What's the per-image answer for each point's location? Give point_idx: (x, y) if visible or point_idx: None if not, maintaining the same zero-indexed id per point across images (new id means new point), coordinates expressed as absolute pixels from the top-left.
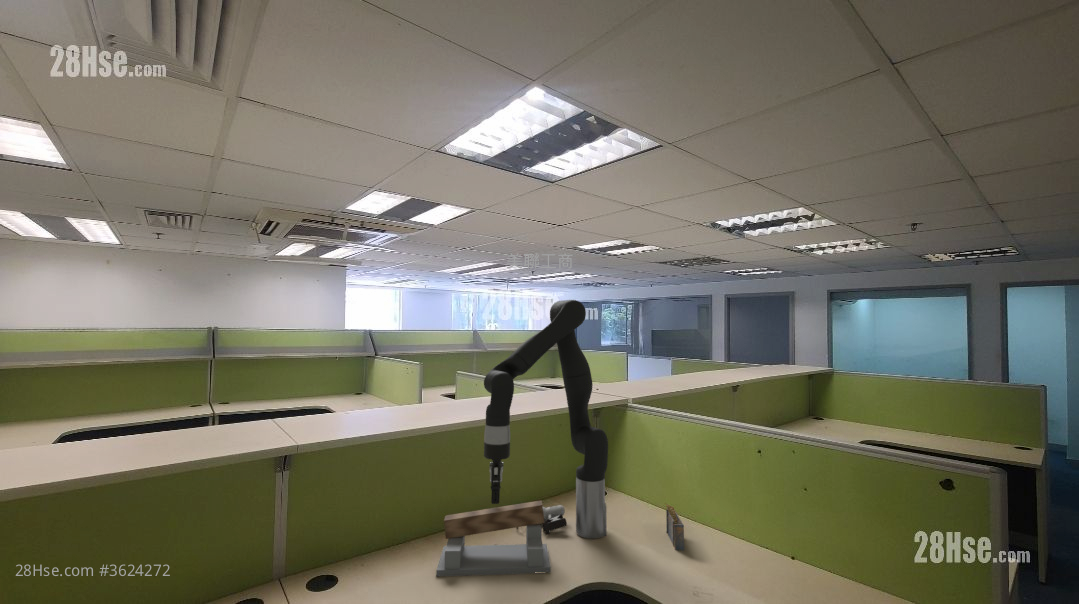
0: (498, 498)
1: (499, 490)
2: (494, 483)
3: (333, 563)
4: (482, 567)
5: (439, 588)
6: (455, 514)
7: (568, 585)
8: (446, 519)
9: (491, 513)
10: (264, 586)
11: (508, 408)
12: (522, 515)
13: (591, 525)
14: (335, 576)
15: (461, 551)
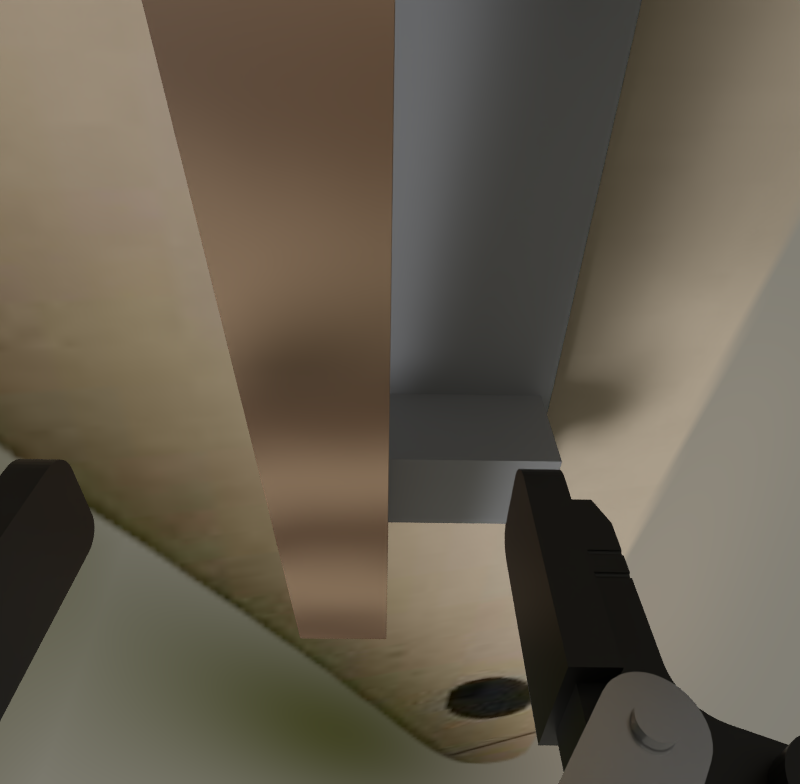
0: (574, 533)
1: (618, 659)
2: (12, 652)
3: (382, 702)
4: (558, 283)
5: (630, 441)
6: (302, 606)
7: None
8: (374, 632)
9: (388, 415)
10: (484, 762)
11: None
12: None
13: None
14: (461, 686)
15: (471, 430)
